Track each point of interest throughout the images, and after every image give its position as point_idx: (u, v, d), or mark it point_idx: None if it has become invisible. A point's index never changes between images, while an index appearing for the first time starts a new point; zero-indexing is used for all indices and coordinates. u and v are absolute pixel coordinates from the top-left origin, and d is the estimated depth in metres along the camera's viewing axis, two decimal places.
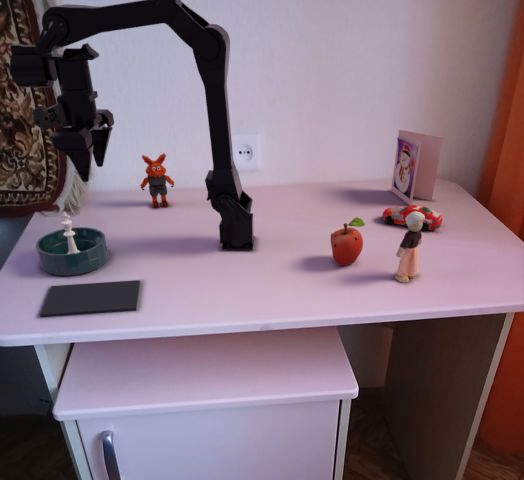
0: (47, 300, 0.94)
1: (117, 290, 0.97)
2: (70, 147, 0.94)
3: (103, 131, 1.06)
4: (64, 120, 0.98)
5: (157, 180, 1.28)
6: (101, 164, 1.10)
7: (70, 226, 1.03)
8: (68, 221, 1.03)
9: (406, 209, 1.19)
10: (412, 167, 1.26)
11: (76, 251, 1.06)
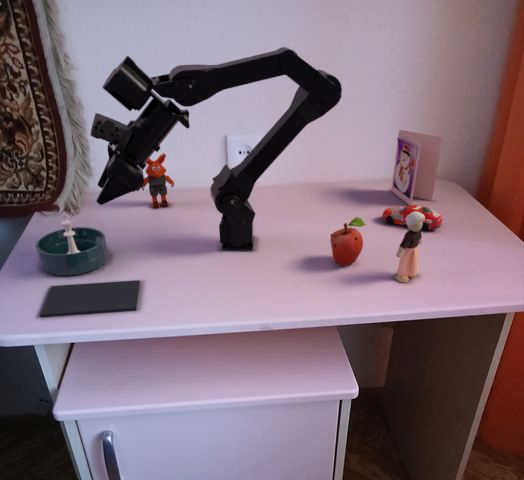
0: (47, 300, 0.94)
1: (117, 290, 0.97)
2: (126, 181, 0.92)
3: None
4: (123, 146, 0.95)
5: (157, 180, 1.28)
6: (102, 186, 1.05)
7: (70, 226, 1.03)
8: (68, 221, 1.03)
9: (406, 209, 1.19)
10: (412, 167, 1.26)
11: (76, 251, 1.06)
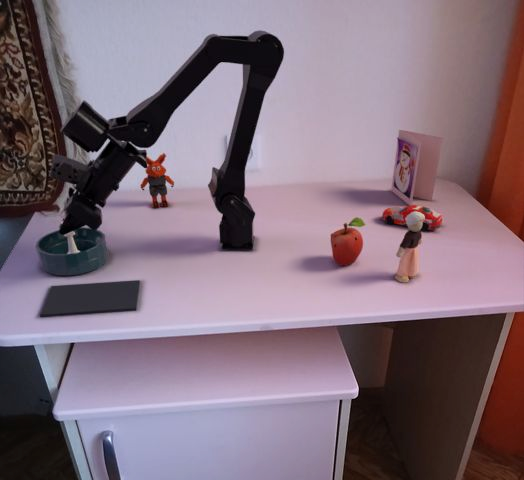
0: (47, 300, 0.94)
1: (117, 290, 0.97)
2: (83, 221, 0.94)
3: None
4: (81, 186, 0.97)
5: (157, 180, 1.28)
6: None
7: None
8: None
9: (406, 209, 1.19)
10: (412, 167, 1.26)
11: (76, 251, 1.06)
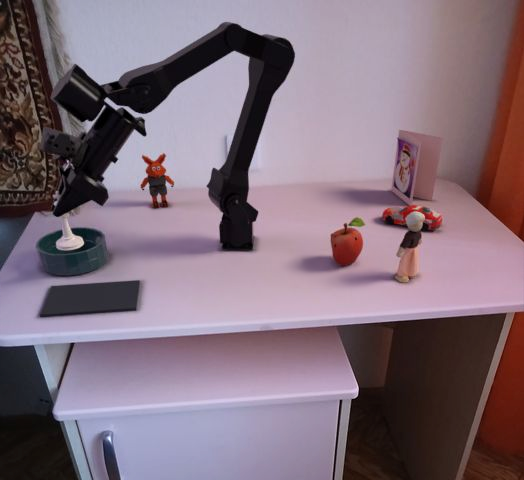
0: (47, 300, 0.94)
1: (117, 290, 0.97)
2: (89, 196, 0.87)
3: None
4: (79, 160, 0.89)
5: (157, 180, 1.28)
6: None
7: None
8: None
9: (406, 209, 1.19)
10: (412, 167, 1.26)
11: (71, 234, 0.97)
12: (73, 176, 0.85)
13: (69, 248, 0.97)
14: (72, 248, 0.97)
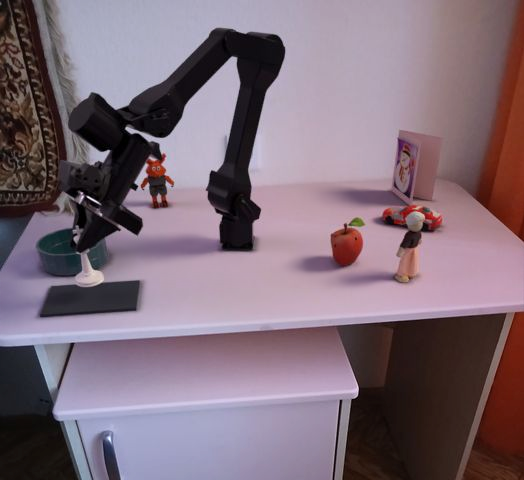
0: (47, 300, 0.94)
1: (117, 290, 0.97)
2: (127, 227, 0.84)
3: None
4: (103, 191, 0.85)
5: (157, 180, 1.28)
6: (75, 246, 0.90)
7: None
8: None
9: (406, 209, 1.19)
10: (412, 167, 1.26)
11: (92, 269, 0.93)
12: (110, 208, 0.81)
13: (93, 284, 0.92)
14: (96, 283, 0.92)
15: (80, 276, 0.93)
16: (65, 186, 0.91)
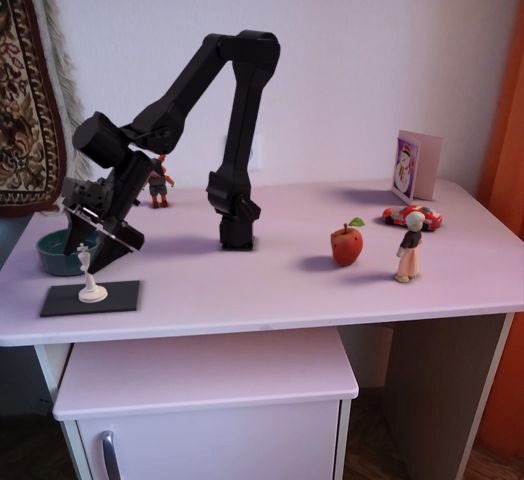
0: (47, 300, 0.94)
1: (117, 290, 0.97)
2: (129, 243, 0.85)
3: (91, 225, 0.95)
4: (106, 207, 0.87)
5: (157, 180, 1.28)
6: (69, 254, 0.94)
7: (89, 258, 0.91)
8: (87, 253, 0.91)
9: (406, 209, 1.19)
10: (412, 167, 1.26)
11: (95, 285, 0.94)
12: (113, 225, 0.83)
13: (97, 300, 0.94)
14: (99, 299, 0.94)
15: (84, 292, 0.94)
16: (68, 201, 0.92)
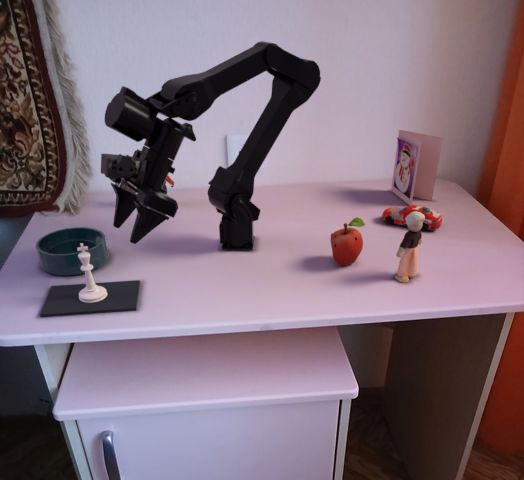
0: (47, 300, 0.94)
1: (117, 290, 0.97)
2: (162, 211, 0.89)
3: None
4: (141, 178, 0.91)
5: None
6: (119, 226, 1.01)
7: (89, 258, 0.91)
8: (87, 253, 0.91)
9: (406, 209, 1.19)
10: (412, 167, 1.26)
11: (95, 285, 0.94)
12: (144, 195, 0.88)
13: (97, 300, 0.94)
14: (99, 299, 0.94)
15: (84, 292, 0.94)
16: None
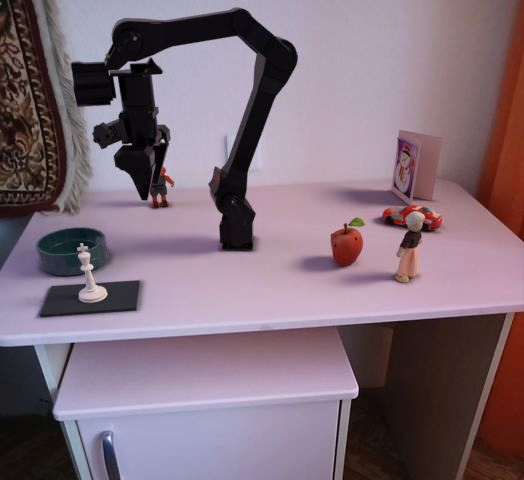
0: (47, 300, 0.94)
1: (117, 290, 0.97)
2: (134, 166, 0.91)
3: (160, 147, 1.03)
4: (125, 137, 0.94)
5: None
6: (157, 181, 1.06)
7: (89, 258, 0.91)
8: (87, 253, 0.91)
9: (406, 209, 1.19)
10: (412, 167, 1.26)
11: (95, 285, 0.94)
12: None
13: (97, 300, 0.94)
14: (99, 299, 0.94)
15: (84, 292, 0.94)
16: None
